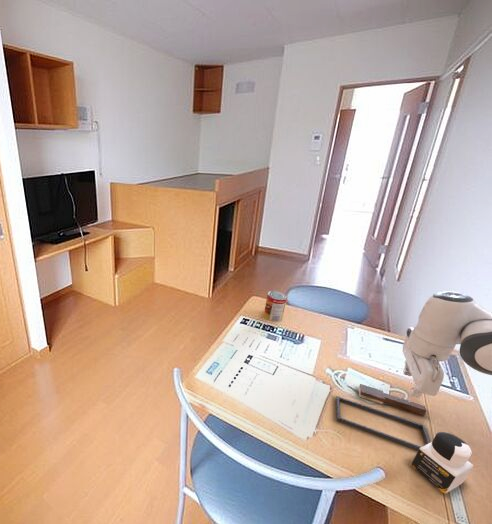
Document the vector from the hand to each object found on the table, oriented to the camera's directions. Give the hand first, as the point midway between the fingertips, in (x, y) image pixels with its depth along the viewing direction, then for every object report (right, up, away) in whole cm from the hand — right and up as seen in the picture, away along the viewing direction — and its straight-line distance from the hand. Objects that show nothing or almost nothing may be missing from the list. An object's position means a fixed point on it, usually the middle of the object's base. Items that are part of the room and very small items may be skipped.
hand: (410, 384), depth 89 cm
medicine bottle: (-7, -17, -15) cm, 23 cm away
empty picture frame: (-11, -11, -2) cm, 16 cm away
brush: (-3, -8, +5) cm, 10 cm away
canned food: (-19, +10, +49) cm, 54 cm away
